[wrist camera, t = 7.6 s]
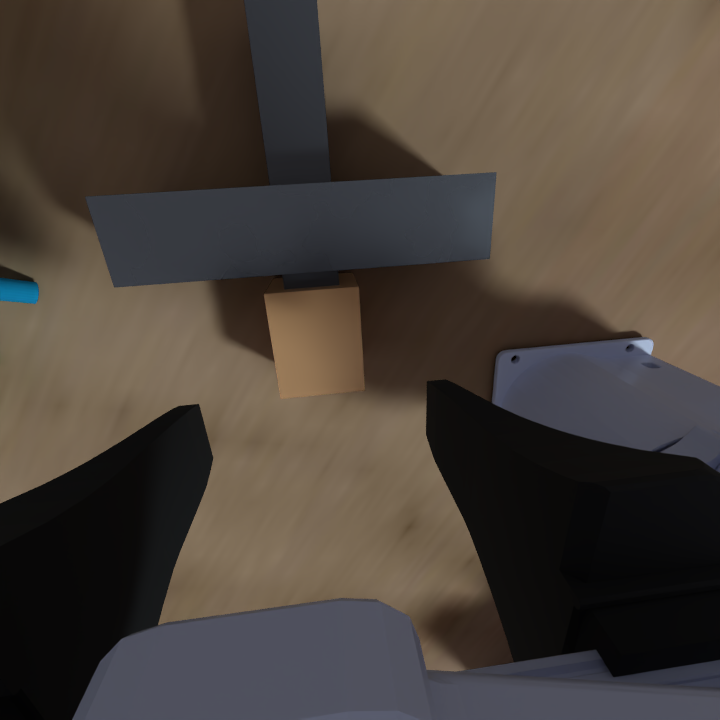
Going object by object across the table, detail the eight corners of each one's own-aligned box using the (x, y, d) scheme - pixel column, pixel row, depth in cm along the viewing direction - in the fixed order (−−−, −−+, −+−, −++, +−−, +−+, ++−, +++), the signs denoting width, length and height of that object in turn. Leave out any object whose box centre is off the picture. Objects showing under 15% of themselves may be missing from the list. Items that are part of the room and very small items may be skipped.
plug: (236, 27, 15) (212, -24, 11) (335, 24, 15) (340, -26, 12) (287, 368, 21) (280, 399, 17) (357, 361, 21) (365, 390, 18)
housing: (450, 181, 18) (496, 172, 13) (448, 245, 19) (489, 258, 14) (149, 198, 17) (84, 196, 12) (166, 266, 18) (114, 287, 13)
